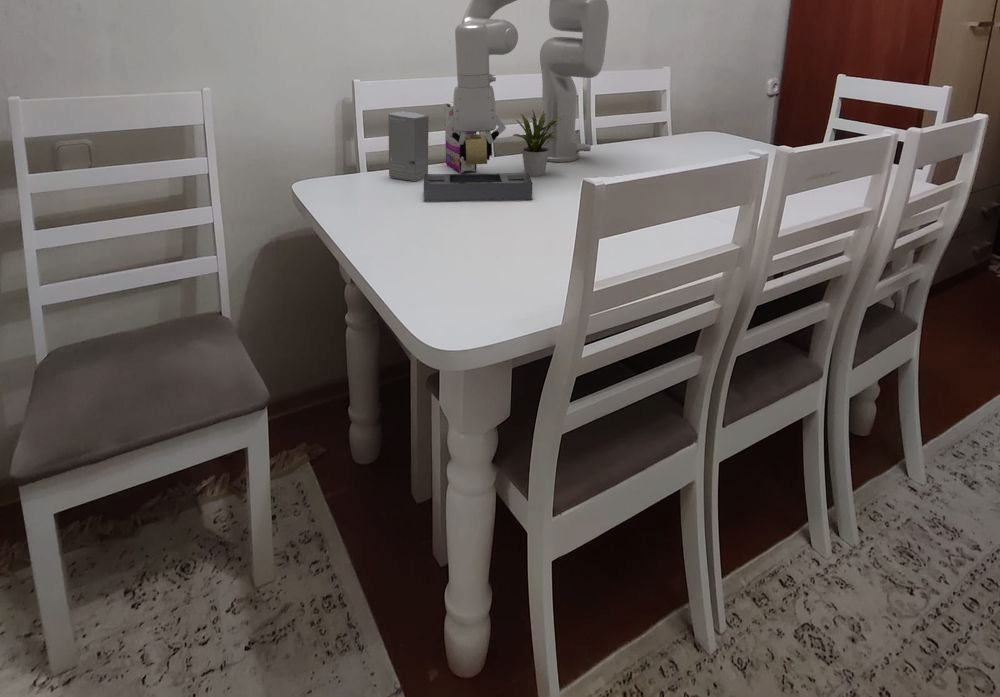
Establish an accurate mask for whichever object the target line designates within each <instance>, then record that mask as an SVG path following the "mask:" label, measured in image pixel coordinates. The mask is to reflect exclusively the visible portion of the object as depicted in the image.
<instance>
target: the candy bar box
mask: <svg viewBox="0 0 1000 697" xmlns="http://www.w3.org/2000/svg"><path fill="white" fill-rule="evenodd" d="M452 118H453V102H451V101H450V102H444V126H445V127H446V126H447V125H448V123H449V122H450V120H451V119H452ZM445 127H444V128H445ZM452 130H454V131H455V132H457V133H458V134H459V135H460V132H458V131H456V130H455V126H453V128H452ZM444 133H445V136H444V138H445V164H447V165H446V166H448V167H450V168H452V169H453V170H454V171H457V172H458V173H459V174H470V173H476V172H477V164H471V165H467V163H466V161H464V158H463V157H461V154H460V144H459V143H458V142H457V141H456V140H455V139H454V138H453V137H452V136H451V135H449V134H448V133H447V132H444ZM471 134H477V132H466V135H471Z"/></svg>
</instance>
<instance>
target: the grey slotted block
mask: <svg viewBox="0 0 1000 697" xmlns="http://www.w3.org/2000/svg"><path fill="white" fill-rule="evenodd" d="M532 200H533V180H532V178H531V176H530V175H529V174H528V173H525V172H502V173H499V172H498V173H495V172H493V173H492V172H489V173H488V172H487V173H428V174H424V178H423V201H424V202H466V201H467V202H470V201H471V202H473V201H477V202H479V201H480V202H481V201H532Z"/></svg>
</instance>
